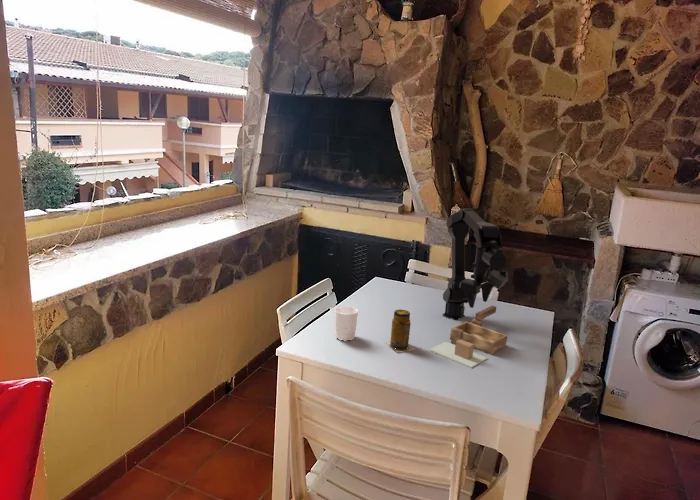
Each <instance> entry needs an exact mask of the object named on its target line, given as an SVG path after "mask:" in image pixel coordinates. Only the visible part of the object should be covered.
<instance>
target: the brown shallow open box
mask: <svg viewBox="0 0 700 500" xmlns="http://www.w3.org/2000/svg"><path fill="white" fill-rule="evenodd" d="M460 339H461V340H464V341H466V342H469V343H472V344H474V350H477V351H479V352H483V353H485V354H488V355H491V356H493V355H494V354H495V353H497V352H499V351H500V350H502V349H504V348H505V347H507V339H508V335H507V334H504V333H502V332H497V331H495V330H492V329H489V328H487V327H483V320H482V319H481V320H477V319H475V318H473V319H472V320H471V322H469V321H463V322H462V323H460V324H458V325H456V326H454V327H451V329H450V334H449V340H450V343H451V344H454V345H456V341H458V340H460Z"/></svg>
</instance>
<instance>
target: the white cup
mask: <svg viewBox="0 0 700 500" xmlns="http://www.w3.org/2000/svg"><path fill="white" fill-rule="evenodd" d="M358 313H359V310H358V308H356V307H354V306H350V305H340V306H337V307H335V308H334V337H335V336H336V337H337V338H338V339H342V340H351V341H353V340H355V338H354V337H356V330H357V324H358V316H359V315H358ZM336 337H335V338H336ZM338 339H337V340H338ZM352 339H353V340H352Z"/></svg>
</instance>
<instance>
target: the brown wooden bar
mask: <svg viewBox="0 0 700 500" xmlns="http://www.w3.org/2000/svg"><path fill="white" fill-rule="evenodd" d="M495 313H497V306H495V305H490V306H488V307H486V308H484V309H482V310H480V311H478V312H476V313H475V316H474V317H475V318H474V319H477V320H481V321H482V320H483V319H485V318H488V317H489V316H491V315H494V314H495Z"/></svg>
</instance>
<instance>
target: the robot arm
mask: <svg viewBox="0 0 700 500" xmlns="http://www.w3.org/2000/svg"><path fill="white" fill-rule="evenodd" d="M446 227H447V233H448V235H449V236H450V238H451V278H450V279H449V281H448V283H447V288H446V289H445V291H444V292H443V293H442V299H443V301H444V302H445V309H444V313H442V316H443V317H446V318H449V319H452V320H455V321H457V320H460V319H462V318H464V317H465V316H466V315H465V309H466V308H465V304H468V306H469V308H471V309H473V308H474V306H475V304H476V299H477V295H478V294H479V293H481V297H482V301H483V302H485V303H486V302H488V299H489V297H490V295H491V292H492V291H493V289H494V288H495V289H500V288H502V287H504V286H505V285H506V283H507V282H509V272H508V271H507V270H502V269H503V268H505V266H506V264H507V257H506V256H505V254H503V250H502V249H503V243H504V242H503V239H502V235H501V232H500V229H499V227H498V225H495V224H493V223H489V222H486V221H485V219H483V218H482V217H481V216H479V215H478V213H476V211H475V209H474V208H461V209H459V210H458V211H456V212H455V213H452V214H450V215H449V217H448V218H447V220H446ZM470 229H471V230H473V232H474V233H473V237H474V238H475V241H476V242H475V243H474V245H475V246H476V250H475V251H476V252H475V256H474V257H475V259H474V262H473V263H472V264H471V266H472V267H473V274H470V278H466V276H465V274H466V262H465V261H466V238H467V236H468V235H469V233H470ZM499 270H502V271H499Z"/></svg>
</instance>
